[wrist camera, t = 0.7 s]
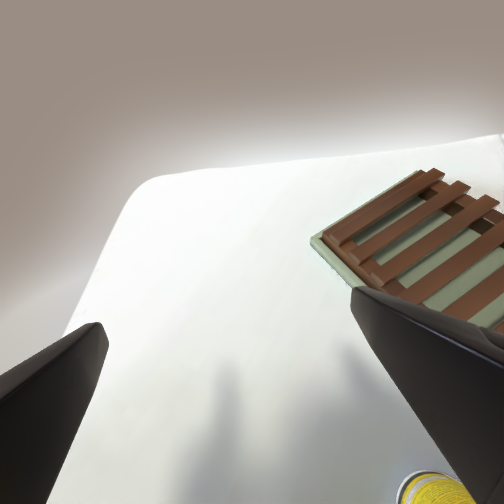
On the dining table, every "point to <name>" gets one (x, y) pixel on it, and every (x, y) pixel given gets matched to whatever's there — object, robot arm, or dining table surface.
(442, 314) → the robot arm
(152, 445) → the dining table surface
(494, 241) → the drying rack
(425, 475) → the supplement bottle
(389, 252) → the drip tray
